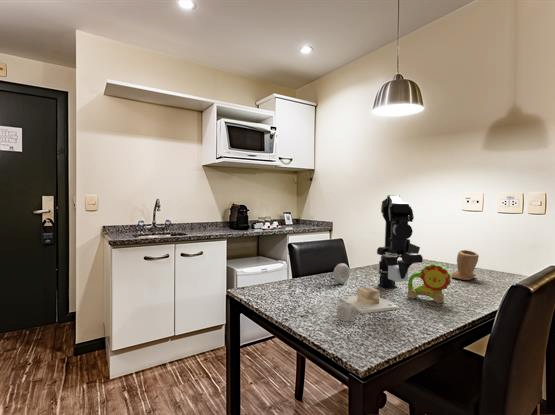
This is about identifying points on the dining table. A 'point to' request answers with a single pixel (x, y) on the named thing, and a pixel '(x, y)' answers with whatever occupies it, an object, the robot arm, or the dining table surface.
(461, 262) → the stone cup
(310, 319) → the dining table surface
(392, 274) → the slate brick
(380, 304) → the building plate
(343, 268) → the donut
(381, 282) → the robot arm
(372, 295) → the maple brick
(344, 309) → the die
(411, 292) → the toy lion
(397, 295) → the dining table surface
